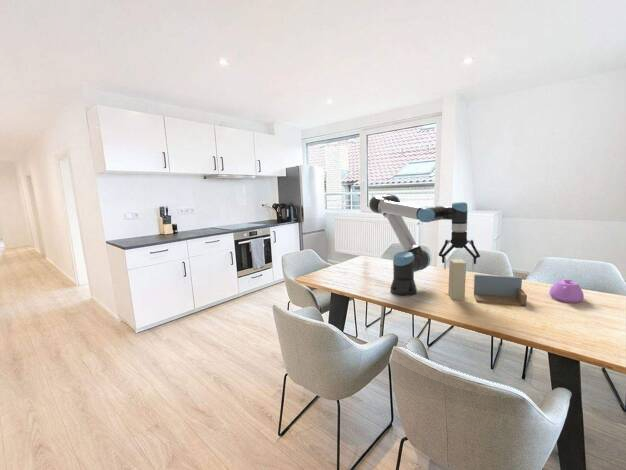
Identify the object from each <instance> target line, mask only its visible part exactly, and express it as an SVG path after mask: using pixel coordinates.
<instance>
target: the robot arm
mask: <svg viewBox="0 0 626 470" xmlns="http://www.w3.org/2000/svg"><path fill="white" fill-rule="evenodd" d="M368 207H369V209H370V211H371V212H373V213H375V214H379V215H383V218H386V219H387V221H388V223H389V224H390V227H391V229H392V230H393V231H394V234H395V235H396V236H395V237H396V238H397V239H398V242H399V244H400V245H401V248H402V250H403V251H400V252H397V253H394V255H393V260H392V264H393V265H392V266H393V279H392V282H391V285H390V293H392V294H394V295H396V296H403V297H406V296H408V297H409V296H414V295H415V294H417V293H418V288H417V286H416V282H415V279H414V277H415V276H414V275H415V274H414V273H416V272H418V271H423V270H425V269H426V268H428V267H429V266H430V264H431V263H430V262H431V256H430V254H429V253H428V252H427V251H426V250H424V249H423V248H422V247H421V245H418V244H417V243H416V241H415V239H414V237H413V235H412V233H411V232H410V229H409V227H408V226H407V224H406V222H405V220H404V218H403V217H405V218H407V219H408V218H410V219H412V220H413V219H415V220H419V222H421V223H431V222H437V221H442V220H443V221H444V220H445V221H447V220H449V221H451V237H450V238H451V239H446V238H445V240H444V244H443V245H442V248H441V249H440V251H439V253H438V256H439V257H441V262H442V264H443V268H444V269H443V270H447V257H446V256H448V254H449V253H450V252H451V251H452V250H453V249H454V248H455V249H463V248H464V249H465V251H467V252H468V254H470V255H471V256H472V257H471V264H470V266H471V267H470V268H471V271H474V269H475V268H474V266H475V265H476V264H477V259H478V258H480V257H481V255H480V254H479V251H478V249H477V247H476V246H475V243H474V240H473V239H470V240H468V232H467V230H468V203H467V202H464V201H463V202H462V201H461V202H458V201H457V202H453V203H451V205H449V206H448V205H444V206H443V205H434V206H432V207H429V206H428V207H426V206H421V205H414V204H409V203H403V202H401V201H400V199H399V197H398V196H397V195H395V194H391V193H388V194H377V195H374V196H372V197H371V198H370V199H369V204H368ZM449 244H451V245H450V246H449V248H448V249H446V247H447V246H448V245H449ZM467 244H469V245H470V246H471V248H472V249H473V251H474V252H472V250H471V249H470V248H469V247H468V246H467ZM445 249H446V250H445ZM474 253H475V254H474Z"/></svg>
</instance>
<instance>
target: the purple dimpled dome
mask: <svg viewBox="0 0 626 470" xmlns="http://www.w3.org/2000/svg"><path fill="white" fill-rule="evenodd" d="M548 292H549V296H550V297H551V298H552V299H554V300H556V301H559V302H564V303H570V304H571V303H572V304H577V302H578V303H580V302H582V301H583V300H585V299H584V298H585V296H584V291H583V290H582V288H581V287H580V285H579V284H578V283H577V282H574V281H573V280H571V279H568V278H563V279H562V280H557V281H555V283H554V284H552V286H551V287H550V289H549V291H548Z"/></svg>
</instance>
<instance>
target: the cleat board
mask: <svg viewBox="0 0 626 470" xmlns="http://www.w3.org/2000/svg"><path fill="white" fill-rule="evenodd" d="M473 277H474V278H473V279H474V280H473V297H474V299H475V302H476V303H481V304H482V303H483V304H491V305H492V304H493V305H503V306H505V305H506V306H514V307H515V306H516V307H525V308H526V307H527V297H528V295H527V294H526V292H525V291H524V290H523V289H522V285H523V283H522V282H523V277H522V276H515V275H513V276H512V275H498V274H497V275H494V274H479V273H474V276H473Z"/></svg>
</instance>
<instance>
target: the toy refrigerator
mask: <svg viewBox="0 0 626 470" xmlns="http://www.w3.org/2000/svg"><path fill="white" fill-rule="evenodd" d="M448 270H449V271H448V296H449V297H450V299H451V300H453V301H455V300H457V301H459V300H460V301H465V298H466V297H465V296H466V295H465V294H466V277H467V276H466V274H467V262H466V261H465V260H463V259H461V258H458V259H455V258H454V259H451V258H450V259H449V267H448Z"/></svg>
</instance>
